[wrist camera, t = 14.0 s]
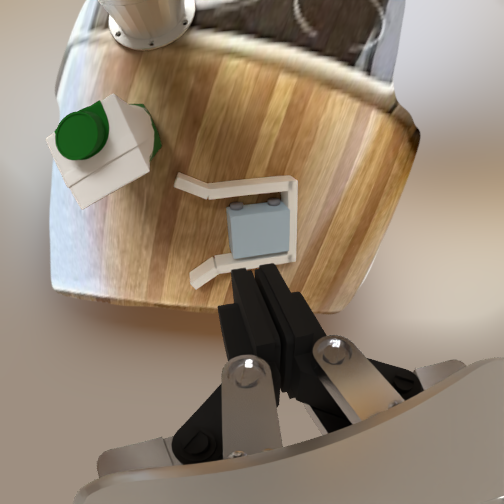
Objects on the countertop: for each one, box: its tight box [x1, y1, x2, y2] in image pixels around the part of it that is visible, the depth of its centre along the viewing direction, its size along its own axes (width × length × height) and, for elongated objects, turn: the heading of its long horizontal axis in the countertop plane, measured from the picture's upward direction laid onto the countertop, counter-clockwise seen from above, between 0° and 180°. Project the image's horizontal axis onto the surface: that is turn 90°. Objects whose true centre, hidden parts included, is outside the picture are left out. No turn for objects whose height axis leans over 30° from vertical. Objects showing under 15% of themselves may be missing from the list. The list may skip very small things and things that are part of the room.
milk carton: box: [46, 94, 162, 210], centre depth 27 cm, size 9×9×20 cm
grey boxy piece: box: [226, 198, 290, 259], centre depth 45 cm, size 8×9×4 cm
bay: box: [174, 172, 298, 289], centre depth 44 cm, size 19×18×4 cm
